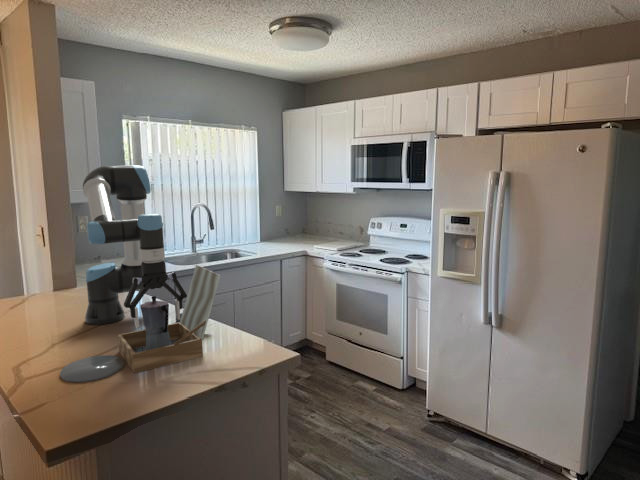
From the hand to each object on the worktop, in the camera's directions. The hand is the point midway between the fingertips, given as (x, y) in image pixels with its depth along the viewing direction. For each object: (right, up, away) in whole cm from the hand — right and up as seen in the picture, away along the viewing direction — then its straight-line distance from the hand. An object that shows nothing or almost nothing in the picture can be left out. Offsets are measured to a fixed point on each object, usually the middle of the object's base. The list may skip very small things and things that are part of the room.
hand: (158, 322), depth 156 cm
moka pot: (0, -11, +2) cm, 11 cm away
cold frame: (+3, -11, +4) cm, 12 cm away
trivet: (-17, -13, -10) cm, 24 cm away
